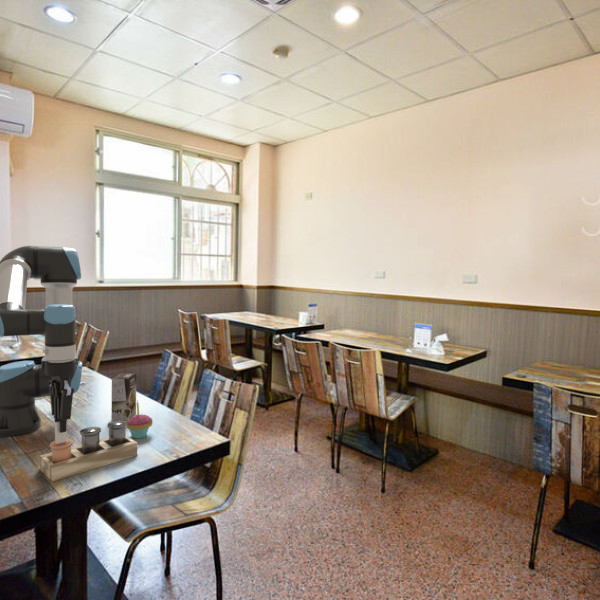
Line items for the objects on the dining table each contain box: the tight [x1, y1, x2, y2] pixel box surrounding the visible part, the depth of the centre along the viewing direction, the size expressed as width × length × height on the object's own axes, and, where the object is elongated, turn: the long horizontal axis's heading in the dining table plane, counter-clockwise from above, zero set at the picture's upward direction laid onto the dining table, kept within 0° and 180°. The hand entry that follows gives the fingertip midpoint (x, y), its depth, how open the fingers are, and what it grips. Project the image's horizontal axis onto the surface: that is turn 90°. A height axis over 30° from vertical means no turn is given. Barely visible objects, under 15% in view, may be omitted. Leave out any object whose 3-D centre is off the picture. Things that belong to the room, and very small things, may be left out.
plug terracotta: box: [49, 438, 73, 464], centre depth 121 cm, size 6×6×7 cm
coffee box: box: [111, 372, 137, 421], centre depth 166 cm, size 9×6×16 cm
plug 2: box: [106, 420, 127, 447], centre depth 133 cm, size 6×6×7 cm
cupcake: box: [126, 399, 154, 439], centre depth 148 cm, size 9×8×12 cm
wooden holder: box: [39, 435, 138, 483], centre depth 127 cm, size 10×24×4 cm, turn 138°
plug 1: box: [79, 426, 102, 455], centre depth 127 cm, size 6×6×7 cm
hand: (61, 442), depth 121 cm, fingers closed
